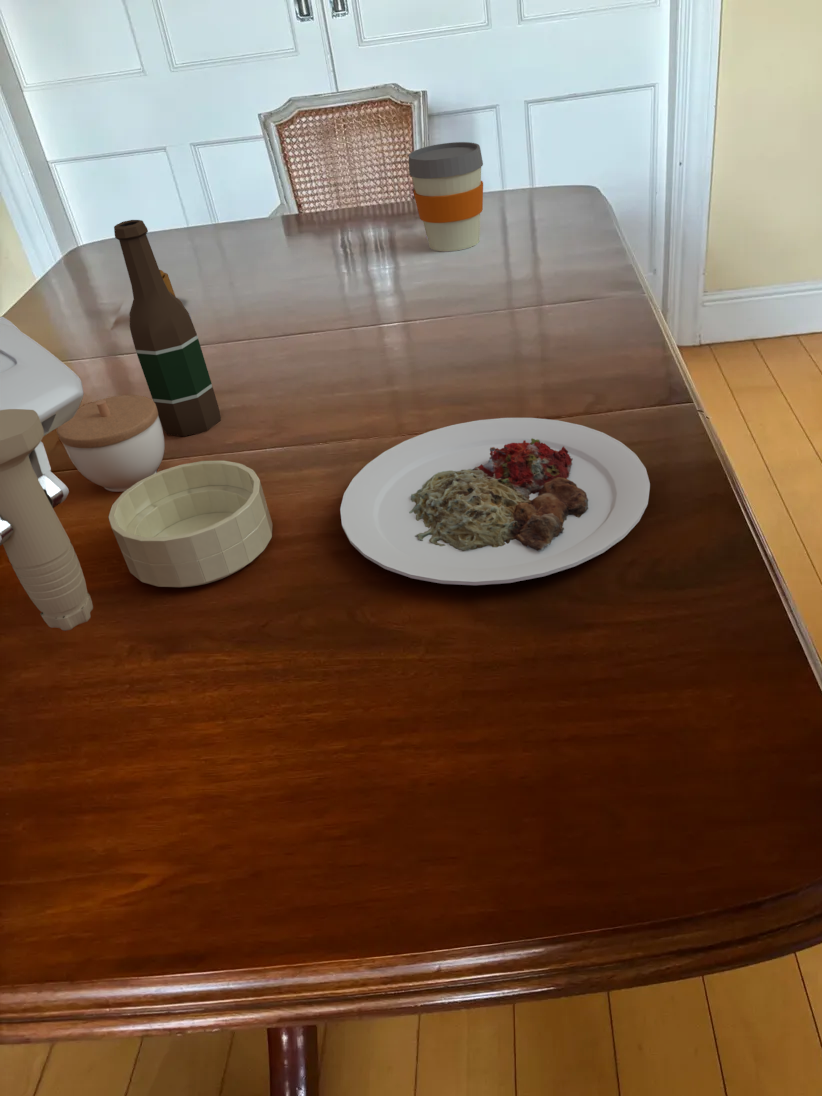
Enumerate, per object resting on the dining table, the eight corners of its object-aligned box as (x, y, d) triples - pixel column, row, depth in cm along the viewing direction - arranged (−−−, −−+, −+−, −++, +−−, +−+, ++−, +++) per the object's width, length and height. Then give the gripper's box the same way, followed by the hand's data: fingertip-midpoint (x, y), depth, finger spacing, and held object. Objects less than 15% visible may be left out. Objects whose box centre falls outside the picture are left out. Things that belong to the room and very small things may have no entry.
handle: (33, 605, 65) (-59, 419, 56) (121, 590, 66) (44, 403, 57) (18, 648, 62) (-84, 455, 52) (112, 631, 62) (27, 437, 53)
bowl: (119, 605, 82) (96, 552, 79) (141, 524, 94) (122, 474, 90) (272, 579, 83) (256, 525, 79) (276, 501, 94) (262, 450, 90)
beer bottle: (171, 411, 115) (106, 217, 101) (229, 406, 114) (172, 209, 100) (153, 440, 109) (81, 237, 95) (214, 435, 108) (151, 229, 94)
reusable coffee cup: (414, 240, 163) (401, 150, 154) (481, 228, 164) (473, 138, 155) (425, 259, 153) (412, 164, 144) (496, 246, 154) (488, 151, 145)
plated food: (309, 600, 79) (301, 570, 77) (376, 438, 103) (371, 411, 101) (656, 597, 74) (657, 564, 72) (644, 427, 97) (644, 398, 95)
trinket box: (96, 514, 96) (63, 436, 91) (71, 477, 104) (39, 403, 98) (190, 478, 100) (164, 401, 95) (159, 445, 108) (133, 372, 102)
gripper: (-18, 333, 65) (125, 468, 68) (-299, 470, 51) (-107, 635, 54) (-1, 274, 61) (153, 421, 63) (-303, 407, 47) (-94, 590, 49)
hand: (31, 521), depth 58 cm, fingers closed on handle, 3 cm apart
